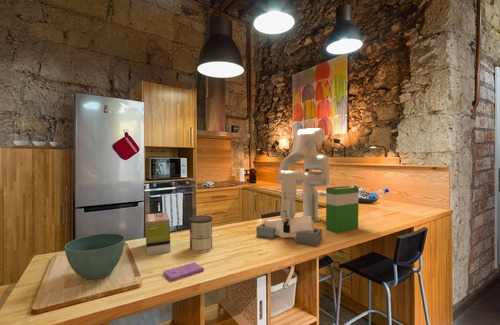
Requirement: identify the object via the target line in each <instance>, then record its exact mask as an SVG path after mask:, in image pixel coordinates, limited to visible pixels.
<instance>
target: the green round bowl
mask: <svg viewBox="0 0 500 325" xmlns="http://www.w3.org/2000/svg"><path fill="white" fill-rule="evenodd" d="M125 243H126V236H125V235H123V234H121V233H115V232H113V233H112V232H110V233H105V232H104V233H96V234H91V235H86V236H82V237H79V238H76V239H72V240H71V241H69V242H67V244H65V245H64V251H65V256H66V257H65V258H66V259H67V262H68V264H69V265H70V267H71V269H72V271H74V272H75V273H76V275H77V276H79V277H80V278H81V279H83V280H84V281H89V280H91V281H98V280H101V278H102V279H104V278H106V277H108V276H109V275H111V273H112V272H113V271H114V269H115V268H116V266H117V265H118V264H119V262H120V260H121V257H122V255H123V252H124V248H125V245H126V244H125ZM97 279H98V280H97Z"/></svg>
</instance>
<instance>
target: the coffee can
mask: <svg viewBox="0 0 500 325" xmlns="http://www.w3.org/2000/svg"><path fill="white" fill-rule="evenodd" d="M189 246H190V247H189V251H191V252H193V253H199V254H200V253H206V252H209V251H211V250H212V249H213V216H211V215H205V214H203V215H202V214H200V215H194V216H191V217H189Z"/></svg>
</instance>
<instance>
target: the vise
mask: <svg viewBox="0 0 500 325" xmlns="http://www.w3.org/2000/svg"><path fill="white" fill-rule="evenodd" d="M255 230H256V232H255V233H256V235H255V236H256V237H257V238H263V239H269V240H270V239H271V240H274V239H276V234H275V228H270V227H265V224H264V222H263V223H262V224H259V225H257V226H256V228H255ZM322 239H323V229H322V228H316V227H314V234H312V233H305V232H297V233H296V238H295V242H296V244H300V245H304V244H305V245H306V246H311V247H317V246H318V245H319V243H320V242H321V241H322Z"/></svg>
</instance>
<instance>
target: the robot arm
mask: <svg viewBox="0 0 500 325" xmlns="http://www.w3.org/2000/svg"><path fill="white" fill-rule="evenodd" d="M325 137H326V133H325V130H324V129H323V128H322V127H317V128H315V127H314V128H300V129H298V130H297V131H296V133H295V134H294V138H293V142H292V143H293V144H292V147H291V151H290V153H289V154H288V155H287V156H286V157H285V158H284V159H283V160H282V161H281V162H280V165H279V168H278V172H277V181H278V182H279V184H281V186H280V187H281V188H280V191H281V192H280V194H281V195H280V199H281V202H280V219H282V221H283V232H284V233H290V225H289V220H290V219H291V218H295V216H296V199H297V185H298V186H299V185H302V200H303V201H302V203H303V204H302V216H301V217H307V216H311V218H312V221H313V223H314V222H319V221H321V217H320V216H319V192H318V190H317V188H316V187H320V188H321V187H324V188H325V187H326V188H327V187H328V186H329V185H330V178H331V177H330V176H331V175H330V159H329V157H328V156H327V155H325V154H318V152H317V146H319V145H321V144H322V143H323V142H324V140H325ZM301 161H303V167H304V169H306V170H311V171H304V172H303V171H301V170H293V169H292V170H291V169H290V170H288V169H289V167H290V166H292V165H294V164H296V163H299V162H301ZM312 170H313V171H312ZM315 170H316V171H315ZM317 170H318V171H317ZM286 218H288V219H286ZM286 220H288V222H287V221H286Z"/></svg>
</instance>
